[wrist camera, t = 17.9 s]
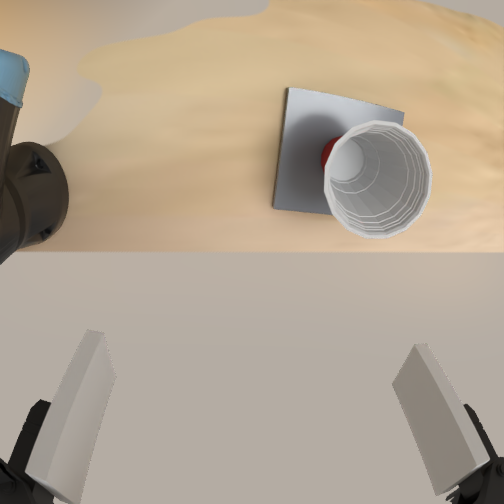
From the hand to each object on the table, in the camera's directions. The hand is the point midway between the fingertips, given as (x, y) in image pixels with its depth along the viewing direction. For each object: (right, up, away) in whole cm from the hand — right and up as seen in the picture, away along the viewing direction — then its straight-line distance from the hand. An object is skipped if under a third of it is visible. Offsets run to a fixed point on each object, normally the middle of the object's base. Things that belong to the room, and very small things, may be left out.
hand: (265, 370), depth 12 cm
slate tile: (+10, +17, +24) cm, 31 cm away
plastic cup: (+10, +16, +23) cm, 30 cm away
